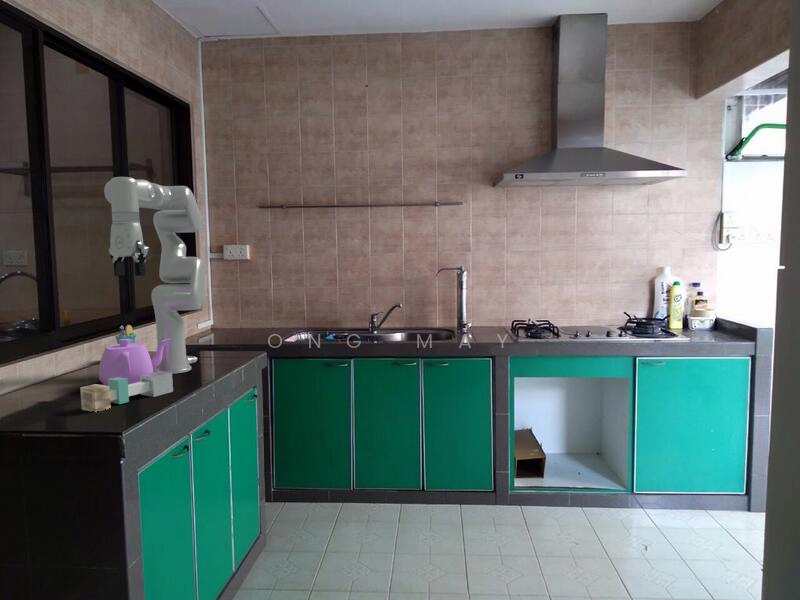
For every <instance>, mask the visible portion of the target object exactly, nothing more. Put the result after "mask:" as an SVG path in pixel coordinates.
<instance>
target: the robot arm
mask: <svg viewBox="0 0 800 600" xmlns="http://www.w3.org/2000/svg"><path fill="white" fill-rule="evenodd" d="M103 191H104V192H103V193H104V197H105V199H106V200H107V202H109V204H111V219H112V223H111V227H110V239H109V241H110V242H109V243H110V247H109V248H108V252H109V256H110V259H111V262H112V263H113V273H114V276H115V277H119V276H120V277H122V276H123V277H124V276H125V275H126V273H125V271H126V270H125V262H124V259H125V258H126V257H132V258H133V260H134V263H133V265H134V267H133V268H134V276H135V277H142V276H146V265H145V264H146V261H147V257H148V252H149V247H148V246H147V245H146V244H144V237H143V232H142V226H141V223H140V222H141V220H140V219H141V218H140V208H142V209H153V210H159V211H157V212H155V213H154V215H153V219H152V220H153V226H154V229H155V231H156V233H157V236H158V239H159V241H160V244H161V253H160V254H161V255H160V262H159V274H158V275H159V278H160V280H161V281H162V282H164V283H165V284H159V285H157V286H155V287H154V288H153V289H152V290H151V296H150V297H151V302H152V306H153V309H154V315H155V317H154V318H155V325H156V326H155V329H156V343H157V347H158V344H159V342H160V341H162V340H166V339H170V340H169V341H168V342H167V343H166V344H165V346H164V348H163V355H162V360H161V363H160V365H159V366H158V367H157V368H155V369H154V372H157V371H163V372H172V375H175V374H181V373H187V372H189V371H191V370H192V366H191V365H190V364H191V363H196V362H197V361H198V357H196V356H192V357H189V356H187V348H186V333H185V332H186V329H185V322H184V319H183V317H182V316H181V315H180V314H179V311H196V310H199V309H200V308H202V305H203V301H204V293H205V292H204V291H205V282H206V266H205V263H204V261H203V260H202V258H200V257H198V256H197V257H196V256H187V245H186V244H185V242H184V241H183V239H181V238H180V237H179V236H178V235H177V233H179V234H180V233H196V232H199V231H200V230H201V229H202V226H203V217H202V214H201V212H200V208H199V205H198V203H197V201H196V198H195V195H194V194H193V192H192V190H191V189H190V188H189V187H188V186H186V185H172V186H171V185H161V184H157V183H154V182H150V181H149V180H146V179H135V178H134V177H130V176H129V177H128V176H115V177H111V179H110V180H108V182H106V184H105V186H104V189H103Z"/></svg>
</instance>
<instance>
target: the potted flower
mask: <svg viewBox="0 0 800 600" xmlns="http://www.w3.org/2000/svg"><path fill="white" fill-rule="evenodd" d="M118 329H119V330H120V331H121V333H118V334H115V336H114V337H115V339H116V344H120V343H119V341H118V340H119V339H131V340H130V343H136V333H134V329H133V326H132V325H131V324H127V325H126V326H125V328H124V325H120V327H119V328H118Z"/></svg>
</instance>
